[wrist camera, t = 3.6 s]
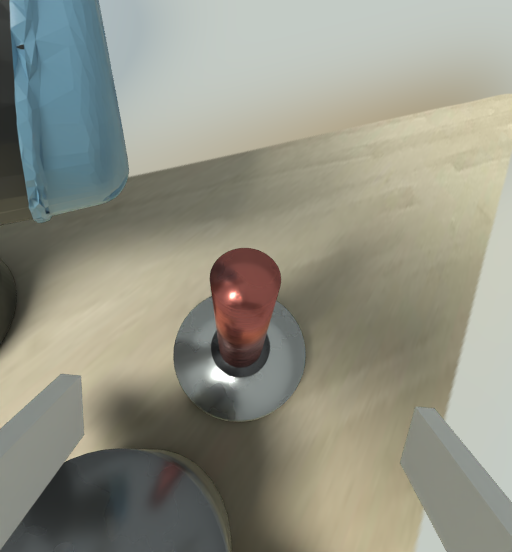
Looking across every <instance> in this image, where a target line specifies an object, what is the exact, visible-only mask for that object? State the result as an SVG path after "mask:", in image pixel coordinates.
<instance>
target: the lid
mask: <svg viewBox="0 0 512 552" xmlns="http://www.w3.org/2000/svg"><path fill="white" fill-rule="evenodd" d="M210 285H211V292H212V296H211V297H209V298H207V299H206V300H204V301H202V302H201V303H200V304H198V305H197V306H196V307H195V308H194V309H193V310H192V311H191V312H190V313H189V314H188V316H187V317H186V318H185V320H184V321H183V323H182V325H181V327H180V329H179V331H178V333H177V337H176V340H175V345H174V367H175V371H176V375H177V378H178V380H179V383H180V385H181V387H182V388H183V390H184V392H185V393H186V394H187V396H188V397H189V398H190V399H191V401H192V402H193V403H194V404H195V405H196V406H197V407H198V408H200V409H201V410H203V411H204V412H205V413H207V414H209V415H211V416H213V417H215V418H218V419H221V420H225V421H231V422H246V421H252V420H256V419H260V418H262V417H265V416H267V415H269V414H270V413H272V412H274V411H275V410H277V409H278V408H279V407H280V406H282V405H283V404H284V403H285V402H286V401H287V400H288V399H289V398H290V397H291V395H292V394H293V392H294V391H295V390H296V388H297V386H298V384H299V382H300V380H301V377H302V375H303V371H304V367H305V358H306V352H305V343H304V338H303V335H302V332H301V330H300V327H299V325H298V323H297V322H296V320H295V319H294V317H293V316H292V315H291V313H290V312H289V311H288V310H287V309H286V308H285V307H284V306H283V305H282V304H280V303H279V302H278V301H276V299H277V296H278V292H279V289H280V285H281V274H280V271H279V268H278V266H277V265H276V263H275V262H274V261H273V259H272V258H270V257H269V256H268V255H267V254H265V253H263V252H261V251H259V250H255V249H251V248H239V249H234V250H231V251H229V252H227V253H225V254H223V255H222V256H221V257H219V258H218V259H217V261H216V262H215V263H214V265H213V267H212V269H211V273H210Z"/></svg>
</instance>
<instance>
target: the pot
mask: <svg viewBox="0 0 512 552" xmlns="http://www.w3.org/2000/svg"><path fill="white" fill-rule="evenodd" d="M0 552H232V546H231V533H230V525H229V520H228V516H227V512H226V509H225V506H224V503H223V501H222V498H221V496H220V494H219V492H218V490H217V488H216V486H215V485H214V484H213V482H212V481H211V479H210V478H209V476H208V475H207V474H206V473H205V472H204V471H203V470H202V469H201V468H200V467H199V466H198V465H196V464H195V463H194V462H193V461H191V460H189V459H187V458H186V457H184V456H182V455H179V454H177V453H174V452H170V451H166V450H157V449H108V450H100V451H96V452H91V453H87V454H84V455H81V456H79V457H76V458H73V459H70V460H68V461H66V462H64V463H63V464H62V466H61V467H60V469H59V470H58V471H57V473H56V474H55V475H54V477H53V478H52V480H51V481H50V482H49V484H48V485H47V486H46V488H45V489H44V491H43V492H42V493H41V495H40V496H39V497H38V499H37V500H36V502H35V503H34V504H33V506H32V507H31V508H30V510H29V511H28V513H27V514H26V515H25V517H24V518H23V519H22V521H21V522H20V524H19V525H18V526H17V528H16V529H15V530H14V532H13V533H12V535H11V536H10V537H9V539H8V540H7V541H6V543H5V544H4V546H3V547H2V548H1V550H0Z"/></svg>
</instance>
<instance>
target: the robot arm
mask: <svg viewBox="0 0 512 552" xmlns="http://www.w3.org/2000/svg"><path fill="white" fill-rule="evenodd" d="M128 174H129V168H128V158H127V153H126V146H125V141H124V135H123V129H122V124H121V118H120V112H119V107H118V101H117V96H116V90H115V86H114V80H113V75H112V70H111V64H110V59H109V53H108V47H107V42H106V37H105V31H104V26H103V21H102V16H101V10H100V5H99V0H0V225H4V224H9V223H15V222H20V221H25V220H30V219H34V221H36V222H37V223H43V222H47V221H49V220H50V219H51V217H52V216H53V215H58V214H62V213H66V212H70V211H75V210H79V209H83V208H87V207H92V206H96V205H100V204H103V203H106V202H108V201H111V200H112V199H114V198H115V197H117V196H118V195H119V194H120V193H121V191H122V190H123V188H124V187H125V185H126V182H127V180H128ZM15 307H16V286H15V282H14V279H13V276H12V274H11V272H10V270H9V269H8V267H7V266H6V265H5V264H4V262H3V261H1V260H0V344H1V343H2V341H3V339H4V337H5V335H6V334H7V331H8V329H9V327H10V325H11V322H12V319H13V316H14V312H15ZM83 436H84V423H83V404H82V385H81V376H79V375H69V374H60V375H59V376H58V377H57V378H56V379H55V380H54V381H53V382H51V383H50V384H49V385H48V386H47V387H46V388H45V389H44V390H43V391H42V392H40V393H39V394H38V395H37V396H36V397H35V398H34V399H33V400H32V401H31V402H29V403H28V404H27V405H26V406H25V407H24V408H23V409H22V410H21V411H20V412H18V413H17V414H16V415H15V416H14V417H13V418H12V419H11V420H10V421H9V422H7V423H6V424H5V425H4V426H3V427H2V428H1V429H0V550H1V548H2V547H3V546H4V544H5V543H6V541H7V540H8V539H9V537H10V536H11V535H12V533H13V532H14V530H15V529H16V528H17V526H18V525H19V524H20V522H21V521H22V519H23V518H24V517H25V515H26V514H27V513H28V511H29V510H30V508H31V507H32V506H33V504H34V503H35V502H36V500H37V499H38V497H39V496H40V495H41V493H42V492H43V491H44V489H45V488H46V486H47V485H48V484H49V482H50V481H51V480H52V478H53V477H54V475H55V474H56V473H57V471H58V470H59V469H60V467H61V466H62V464H63V463H64V462H65V460H66V459H67V458H68V456H69V455H70V453H71V452H72V451H73V449H74V448H75V447H76V445H77V444H78V442H79V441H80V440H81V438H82V437H83ZM400 464H401V466H402V468H403V470H404V472H405V473H406V475H407V477H408V479H409V481H410V483H411V485H412V487H413V489H414V491H415V492H416V494H417V496H418V498H419V500H420V502H421V504H422V506H423V508H424V510H425V511H426V513H427V515H428V517H429V519H430V521H431V523H432V525H433V527H434V528H435V530H436V532H437V534H438V536H439V538H440V540H441V542H442V544H443V546H444V547H445V549H446V551H447V552H512V502H511V501H510V500H509V498H508V497H507V496H506V495H505V494H504V492H503V491H502V490H501V489H500V488H499V486H498V485H497V484H496V483H495V481H494V480H493V479H492V478H491V477H490V475H489V474H488V473H487V472H486V470H485V469H484V468H483V467H482V466H481V464H480V463H479V462H478V461H477V459H476V458H475V457H474V456H473V455H472V453H471V452H470V451H469V450H468V449H467V447H466V446H465V445H464V444H463V442H462V441H461V440H460V439H459V438H458V436H456V434H455V433H454V432H453V431H452V429H451V428H450V427H449V425H448V424H447V423H446V422H445V421H444V419H443V418H442V417H441V416H440V415H439V413H438V412H437V411H436V410H435V408H425V407H415V410H414V413H413V417H412V421H411V424H410V428H409V432H408V435H407V439H406V442H405V446H404V450H403V453H402V457H401V461H400Z"/></svg>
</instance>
